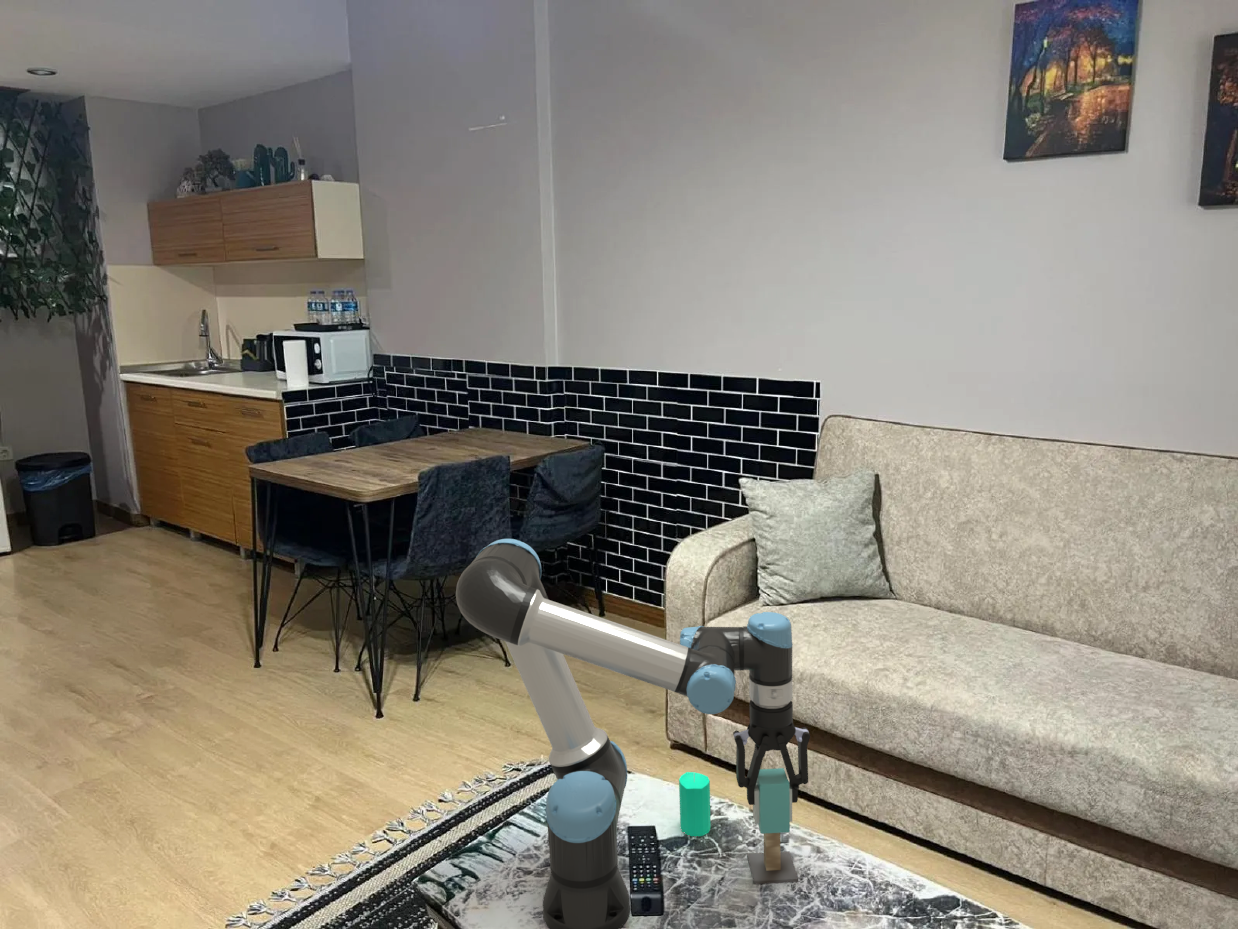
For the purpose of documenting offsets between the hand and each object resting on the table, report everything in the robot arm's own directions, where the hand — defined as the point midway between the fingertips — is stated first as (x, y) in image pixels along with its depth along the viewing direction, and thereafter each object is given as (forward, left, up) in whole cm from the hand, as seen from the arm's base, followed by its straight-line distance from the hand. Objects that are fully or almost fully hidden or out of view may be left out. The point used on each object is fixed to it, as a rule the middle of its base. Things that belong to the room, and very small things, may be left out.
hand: (772, 818), depth 167 cm
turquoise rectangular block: (0, 0, -1) cm, 1 cm away
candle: (-13, +14, -11) cm, 22 cm away
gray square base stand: (0, 0, -10) cm, 10 cm away
